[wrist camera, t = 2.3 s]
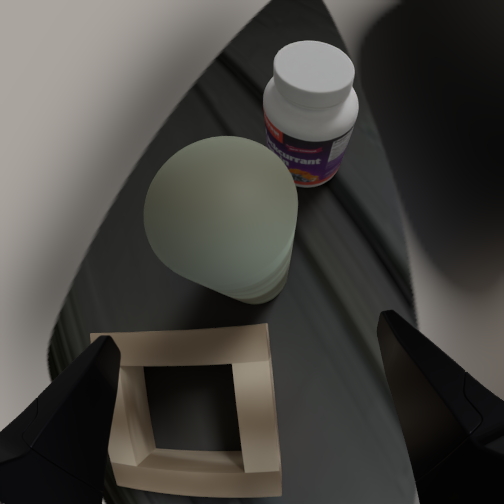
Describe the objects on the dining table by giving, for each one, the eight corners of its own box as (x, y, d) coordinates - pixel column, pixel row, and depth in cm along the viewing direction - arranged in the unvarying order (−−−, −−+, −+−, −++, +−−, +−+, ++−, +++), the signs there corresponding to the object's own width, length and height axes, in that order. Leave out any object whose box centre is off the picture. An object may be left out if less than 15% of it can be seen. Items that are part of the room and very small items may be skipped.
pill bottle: (253, 165, 22) (235, 73, 13) (293, 117, 23) (295, 22, 13) (316, 204, 21) (338, 123, 12) (352, 151, 22) (385, 61, 12)
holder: (281, 471, 17) (281, 495, 14) (137, 467, 18) (117, 485, 15) (267, 323, 20) (265, 324, 16) (116, 332, 21) (90, 333, 17)
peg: (291, 300, 20) (308, 273, 8) (224, 307, 20) (144, 290, 8) (283, 235, 21) (285, 127, 9) (219, 242, 21) (146, 150, 9)
